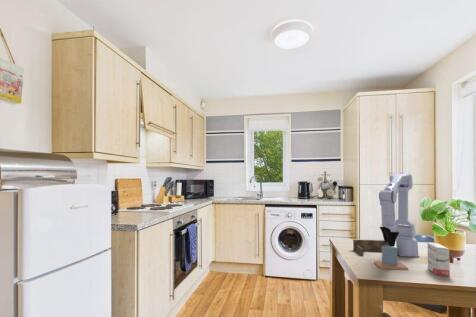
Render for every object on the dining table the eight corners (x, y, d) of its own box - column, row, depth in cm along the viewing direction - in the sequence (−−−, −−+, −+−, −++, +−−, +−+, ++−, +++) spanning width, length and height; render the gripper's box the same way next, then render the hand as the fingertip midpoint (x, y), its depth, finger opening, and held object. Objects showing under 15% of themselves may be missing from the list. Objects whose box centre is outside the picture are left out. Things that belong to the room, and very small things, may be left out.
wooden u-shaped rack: (390, 251, 145) (389, 240, 145) (399, 257, 135) (398, 245, 135) (353, 250, 147) (353, 239, 148) (359, 255, 137) (359, 244, 138)
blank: (389, 261, 125) (389, 245, 125) (397, 265, 120) (396, 248, 120) (382, 262, 124) (381, 245, 124) (390, 266, 119) (389, 248, 120)
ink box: (451, 276, 109) (449, 248, 110) (437, 275, 110) (436, 247, 111) (439, 269, 118) (438, 242, 119) (427, 268, 119) (426, 242, 120)
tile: (399, 263, 125) (399, 261, 125) (408, 269, 117) (408, 267, 117) (373, 262, 126) (373, 260, 127) (380, 268, 119) (380, 266, 119)
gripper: (402, 218, 115) (404, 248, 114) (393, 213, 129) (394, 240, 128) (385, 217, 117) (386, 247, 116) (377, 212, 131) (378, 239, 130)
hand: (389, 243), depth 122 cm, fingers open, 7 cm apart
